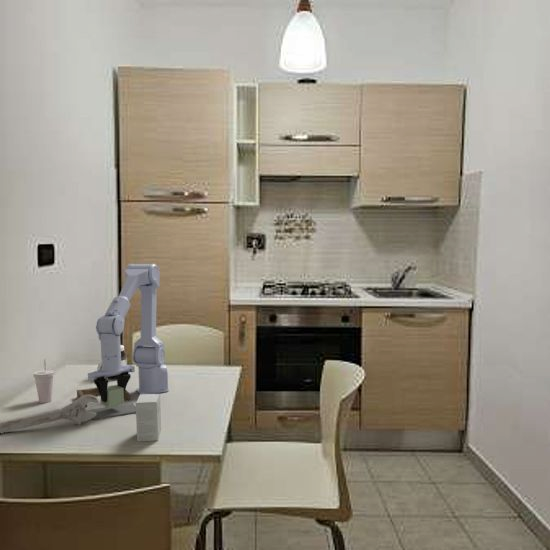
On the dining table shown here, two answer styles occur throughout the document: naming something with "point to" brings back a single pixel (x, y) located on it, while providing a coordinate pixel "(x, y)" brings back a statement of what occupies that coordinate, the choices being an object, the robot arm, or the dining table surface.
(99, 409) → the mat
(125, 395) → the wooden u-shaped frame
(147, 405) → the small box
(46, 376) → the smoothie
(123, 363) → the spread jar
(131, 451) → the dining table surface
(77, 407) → the wrench
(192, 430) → the dining table surface
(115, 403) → the cube
